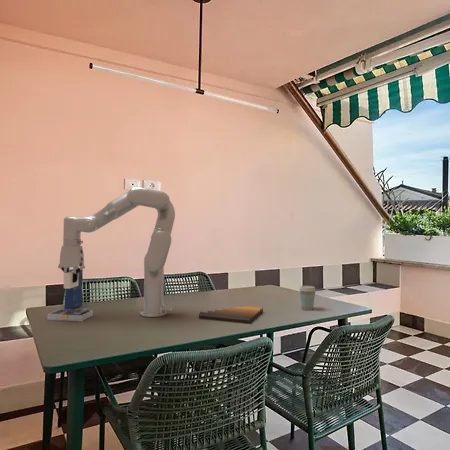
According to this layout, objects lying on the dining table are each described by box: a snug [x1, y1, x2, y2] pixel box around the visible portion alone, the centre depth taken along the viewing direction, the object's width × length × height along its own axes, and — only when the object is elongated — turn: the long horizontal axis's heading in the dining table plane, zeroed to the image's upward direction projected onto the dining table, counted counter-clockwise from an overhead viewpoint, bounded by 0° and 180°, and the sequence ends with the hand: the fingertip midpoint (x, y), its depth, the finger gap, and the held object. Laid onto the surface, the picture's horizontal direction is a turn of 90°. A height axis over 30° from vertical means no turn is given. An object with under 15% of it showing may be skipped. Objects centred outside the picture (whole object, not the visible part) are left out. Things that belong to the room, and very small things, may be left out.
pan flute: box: [198, 305, 264, 325], centre depth 188 cm, size 25×3×25 cm
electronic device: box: [64, 268, 84, 309], centre depth 201 cm, size 10×5×20 cm, turn 168°
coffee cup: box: [299, 285, 317, 311], centre depth 203 cm, size 9×8×12 cm
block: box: [63, 271, 79, 289], centre depth 179 cm, size 3×8×7 cm, turn 173°
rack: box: [46, 307, 94, 322], centre depth 179 cm, size 17×11×4 cm
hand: (71, 281), depth 179 cm, fingers closed on block, 2 cm apart
